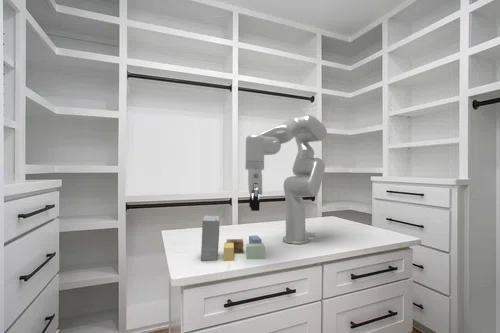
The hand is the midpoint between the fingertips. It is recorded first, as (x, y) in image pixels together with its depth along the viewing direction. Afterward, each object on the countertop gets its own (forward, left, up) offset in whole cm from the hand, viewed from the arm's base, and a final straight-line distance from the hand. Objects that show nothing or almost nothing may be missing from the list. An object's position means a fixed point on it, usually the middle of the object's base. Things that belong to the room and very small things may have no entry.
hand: (254, 208), depth 101 cm
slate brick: (-1, -11, -19) cm, 22 cm away
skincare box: (+17, -1, -19) cm, 26 cm away
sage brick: (0, 0, -19) cm, 19 cm away
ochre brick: (+10, 0, -19) cm, 22 cm away
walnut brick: (+8, -7, -19) cm, 22 cm away
